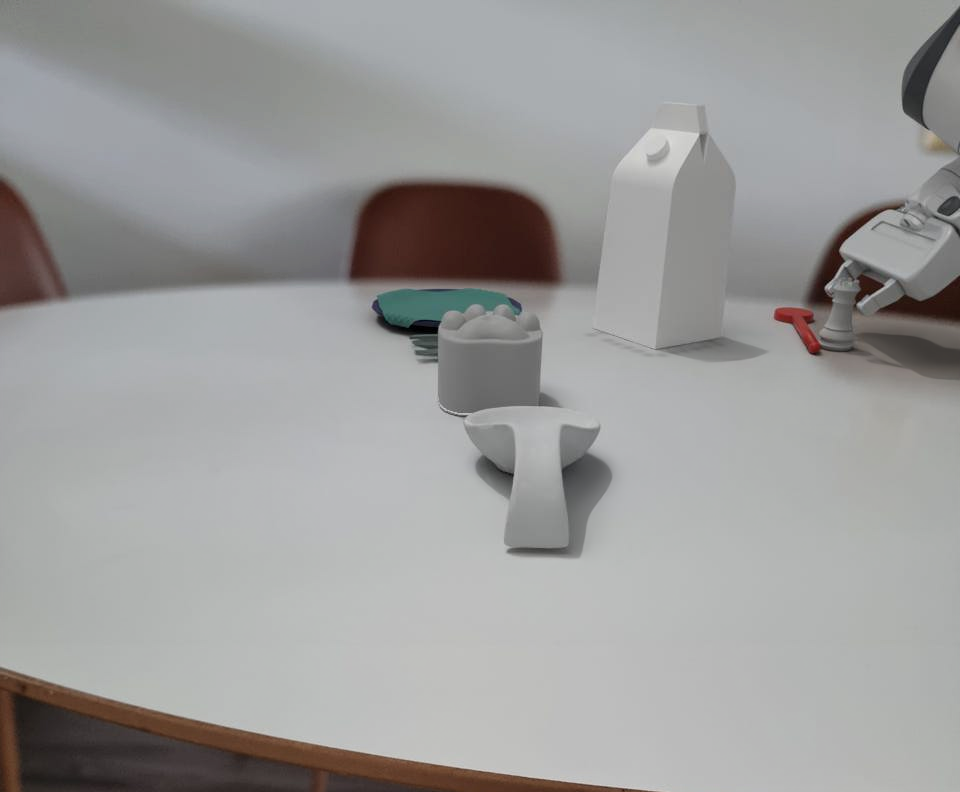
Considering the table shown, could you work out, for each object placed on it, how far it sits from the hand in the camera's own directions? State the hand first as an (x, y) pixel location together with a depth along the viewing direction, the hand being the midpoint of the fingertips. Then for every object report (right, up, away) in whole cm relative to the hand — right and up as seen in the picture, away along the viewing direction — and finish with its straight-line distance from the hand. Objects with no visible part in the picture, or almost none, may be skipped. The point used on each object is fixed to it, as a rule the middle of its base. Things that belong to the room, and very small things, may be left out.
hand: (844, 303), depth 119 cm
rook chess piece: (0, -5, +3) cm, 5 cm away
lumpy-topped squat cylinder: (-44, -16, -18) cm, 50 cm away
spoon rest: (-40, -29, -39) cm, 63 cm away
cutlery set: (-48, -2, +6) cm, 49 cm away
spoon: (-3, -1, +8) cm, 8 cm away
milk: (-22, -2, +7) cm, 23 cm away
